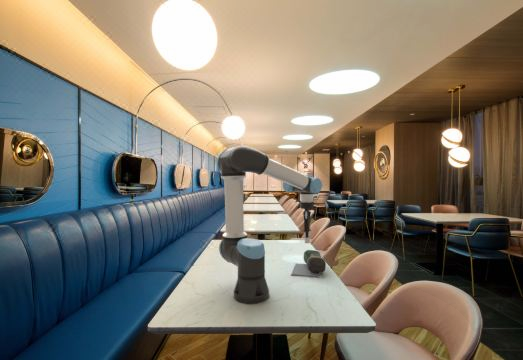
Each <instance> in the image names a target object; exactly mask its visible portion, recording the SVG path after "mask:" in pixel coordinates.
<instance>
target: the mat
mask: <svg viewBox="0 0 523 360" xmlns="http://www.w3.org/2000/svg"><path fill="white" fill-rule="evenodd" d="M290 275H291V276H297V277H309V278H320V277H319V276H320V273H313V272H311V271H310V270H309V269H308V268H307V264H306V263H295V264H294V267H293V270H291V274H290Z"/></svg>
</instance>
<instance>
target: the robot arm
mask: <svg viewBox="0 0 523 360" xmlns="http://www.w3.org/2000/svg"><path fill="white" fill-rule="evenodd" d="M216 165H217V169H218V170H219V171H220V178H221V179H222V180H223V182H224V183H223V184H224V214H225V215H224V217H225V218H224V219H225V232H223V234H222V240H221V241H220V242H219V246H218V251H219V254H220V256H221V258H223V260H225V261H226V262H227V263H229V264H230V263H231V264H233V265H234V266H236V267H237V280H236V283H235V286H234V289H233V298H234V299H235V300H236V301H237V302H240V303H243V304H257V303H262V302H265V301H267V300H268V298H269V297H270V288H269V286H268V282H267V279H266V274H265V273H266V271H265V270H266V268H265V267H266V265H265V263H266V261H265V258H266V256H265V254H266V250H265V245H264V243H263V242H262V241H261V240H260V239H257V238H252V237H251V238H250V237H248V233H247V231H245V225H244V223H245V222H244V221H245V220H244V191H243V190H244V187H243V186H244V184H243V183H244V182H243V181H244V179H245V178H246V177H247V174H246V173H251V174H257V175H259V176H260V175H264V176H267V177H269V178H272V179H275V180H277V181H280V182H282V189H283V190H284V191H285V192H286V193H299V201H300V203H299V204H300V206H299V208H300V209H301V210H302V209H304V211H303V212H302V214H303V225H304V226H303V228H304V230H302V231H303V232H304V244H310V243H311V241H310V239H311V235H310V234H311V213H312V211H310V210H313V209H314V208H315V207H314V198H315V197H316V196H315V195H314V194H315V193H320V192H321V191H322V188H323V182H322V180H321V179H320V177H314V175H313V174H304V173H302V172H301V171H298V170H296V169H293V168H291V167H289V166H287V165H284V164H282V163H280V162H279V161H275V160H274V159H272V158H270V157H269V155H268V154H267V153H264V152H261V151H260V150H257V149H255V148H252V147H251V146H247V145H239V146H233V147H228V148H225V149H223V150H222V151H221V152H219V154H218V156H217V159H216Z"/></svg>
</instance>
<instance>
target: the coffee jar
mask: <svg viewBox="0 0 523 360" xmlns="http://www.w3.org/2000/svg"><path fill="white" fill-rule="evenodd" d="M303 261H304V264H307V268H308V269H309V270H310V271H311V272H313V273H319V274H323V273H324V272H325V271H326V268H327V267H326V263H327V262H326V260H325V259H324V258H323V257H322V255H321V253H320V251H318V250H313V249H307V250H305V251H304V253H303Z"/></svg>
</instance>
